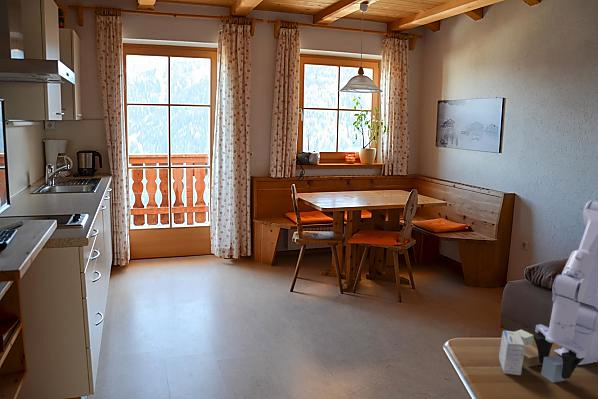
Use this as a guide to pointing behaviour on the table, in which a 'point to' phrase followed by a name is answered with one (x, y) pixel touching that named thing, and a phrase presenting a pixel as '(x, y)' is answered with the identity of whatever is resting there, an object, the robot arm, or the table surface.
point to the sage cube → (526, 337)
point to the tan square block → (531, 356)
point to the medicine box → (511, 352)
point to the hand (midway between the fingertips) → (554, 369)
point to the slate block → (552, 368)
